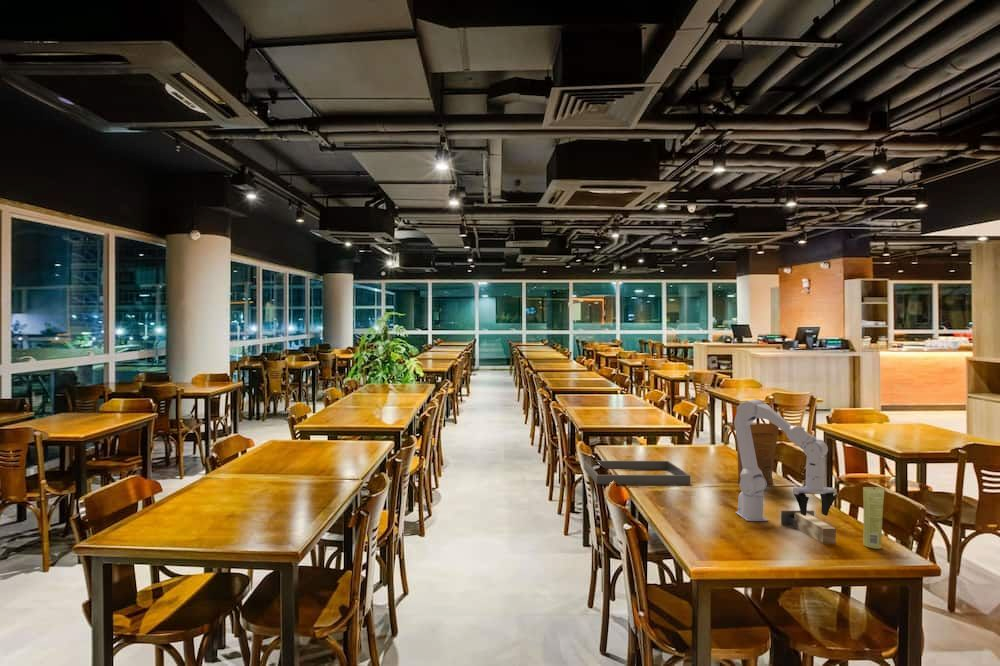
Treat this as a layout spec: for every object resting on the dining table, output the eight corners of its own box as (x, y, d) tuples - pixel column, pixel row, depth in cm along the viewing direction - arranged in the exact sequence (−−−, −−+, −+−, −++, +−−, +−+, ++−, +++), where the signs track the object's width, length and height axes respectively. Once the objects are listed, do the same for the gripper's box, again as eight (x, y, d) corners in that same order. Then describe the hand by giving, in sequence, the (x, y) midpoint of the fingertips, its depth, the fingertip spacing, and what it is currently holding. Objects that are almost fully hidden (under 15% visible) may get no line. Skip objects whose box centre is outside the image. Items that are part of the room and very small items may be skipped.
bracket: (780, 524, 204) (781, 510, 204) (812, 524, 205) (813, 510, 205) (788, 528, 200) (788, 514, 200) (820, 528, 200) (821, 514, 200)
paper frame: (583, 468, 281) (583, 460, 281) (668, 468, 283) (668, 460, 283) (596, 484, 253) (596, 475, 253) (690, 484, 255) (690, 475, 255)
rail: (794, 526, 202) (794, 512, 202) (806, 526, 203) (806, 512, 203) (822, 543, 186) (823, 528, 186) (835, 543, 187) (836, 528, 187)
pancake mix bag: (780, 486, 255) (782, 424, 254) (738, 485, 255) (739, 423, 255) (774, 482, 261) (775, 422, 261) (732, 481, 262) (733, 421, 262)
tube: (865, 541, 188) (866, 483, 188) (883, 546, 185) (884, 486, 185) (861, 546, 184) (862, 487, 184) (879, 550, 181) (881, 490, 181)
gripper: (801, 478, 190) (800, 518, 190) (843, 478, 191) (841, 518, 191) (789, 473, 197) (788, 511, 197) (829, 473, 198) (828, 511, 198)
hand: (813, 514), depth 195 cm, fingers open, 7 cm apart
